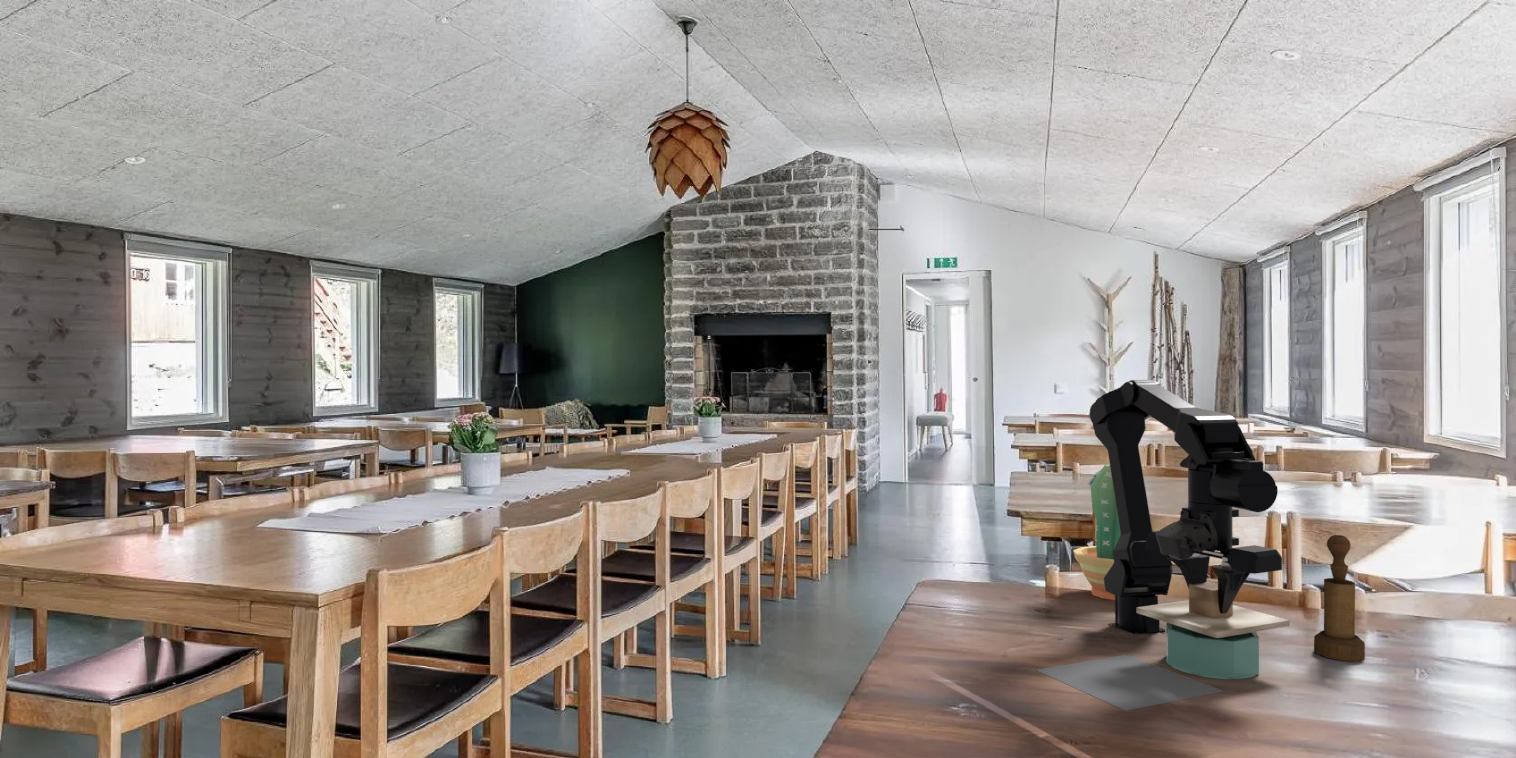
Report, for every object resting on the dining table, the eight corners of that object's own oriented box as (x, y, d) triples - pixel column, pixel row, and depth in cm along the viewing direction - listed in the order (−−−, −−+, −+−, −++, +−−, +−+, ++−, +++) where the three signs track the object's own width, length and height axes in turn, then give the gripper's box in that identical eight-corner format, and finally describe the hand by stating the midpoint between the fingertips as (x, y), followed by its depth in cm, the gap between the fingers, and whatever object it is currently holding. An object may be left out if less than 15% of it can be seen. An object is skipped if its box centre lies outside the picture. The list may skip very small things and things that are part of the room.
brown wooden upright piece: (1373, 662, 132) (1372, 540, 132) (1324, 660, 133) (1323, 539, 133) (1353, 648, 139) (1352, 532, 139) (1306, 646, 140) (1306, 531, 140)
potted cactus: (1160, 589, 177) (1159, 462, 177) (1158, 608, 163) (1157, 470, 163) (1077, 582, 184) (1076, 460, 184) (1069, 599, 170) (1068, 467, 170)
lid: (1136, 612, 134) (1136, 580, 134) (1205, 602, 139) (1205, 571, 139) (1216, 638, 121) (1216, 602, 121) (1289, 626, 126) (1289, 591, 126)
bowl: (1147, 663, 133) (1147, 622, 133) (1206, 653, 138) (1206, 613, 138) (1216, 689, 122) (1216, 645, 122) (1278, 677, 127) (1278, 634, 127)
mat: (1035, 674, 128) (1035, 669, 128) (1126, 658, 135) (1126, 654, 135) (1125, 715, 113) (1125, 710, 113) (1224, 695, 119) (1224, 691, 119)
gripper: (1118, 497, 135) (1119, 600, 136) (1225, 514, 118) (1226, 633, 118) (1173, 492, 140) (1174, 592, 140) (1284, 509, 122) (1285, 623, 123)
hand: (1210, 609), depth 130 cm, fingers closed on lid, 4 cm apart
